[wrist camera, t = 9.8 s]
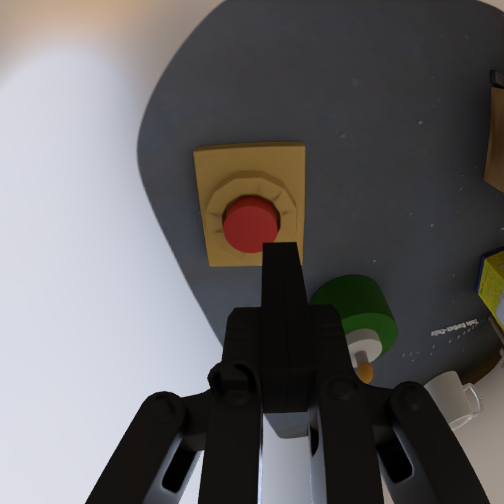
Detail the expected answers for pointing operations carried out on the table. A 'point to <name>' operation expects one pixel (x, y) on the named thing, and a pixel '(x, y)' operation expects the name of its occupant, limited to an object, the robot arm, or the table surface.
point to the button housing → (250, 192)
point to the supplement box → (492, 283)
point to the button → (250, 224)
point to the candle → (361, 319)
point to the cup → (453, 398)
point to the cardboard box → (496, 135)
